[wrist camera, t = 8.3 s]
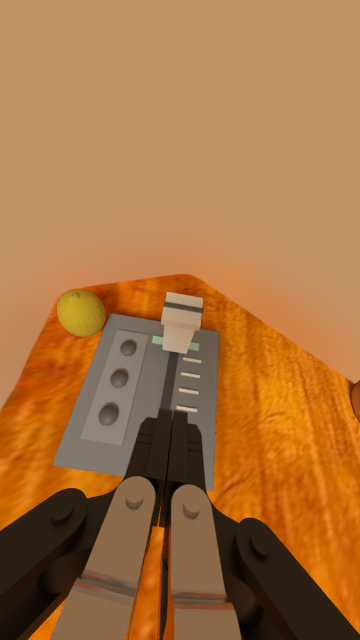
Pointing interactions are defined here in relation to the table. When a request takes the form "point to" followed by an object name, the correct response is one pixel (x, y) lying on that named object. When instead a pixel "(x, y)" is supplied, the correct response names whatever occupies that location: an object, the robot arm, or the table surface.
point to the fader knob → (180, 321)
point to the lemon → (81, 312)
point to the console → (139, 394)
